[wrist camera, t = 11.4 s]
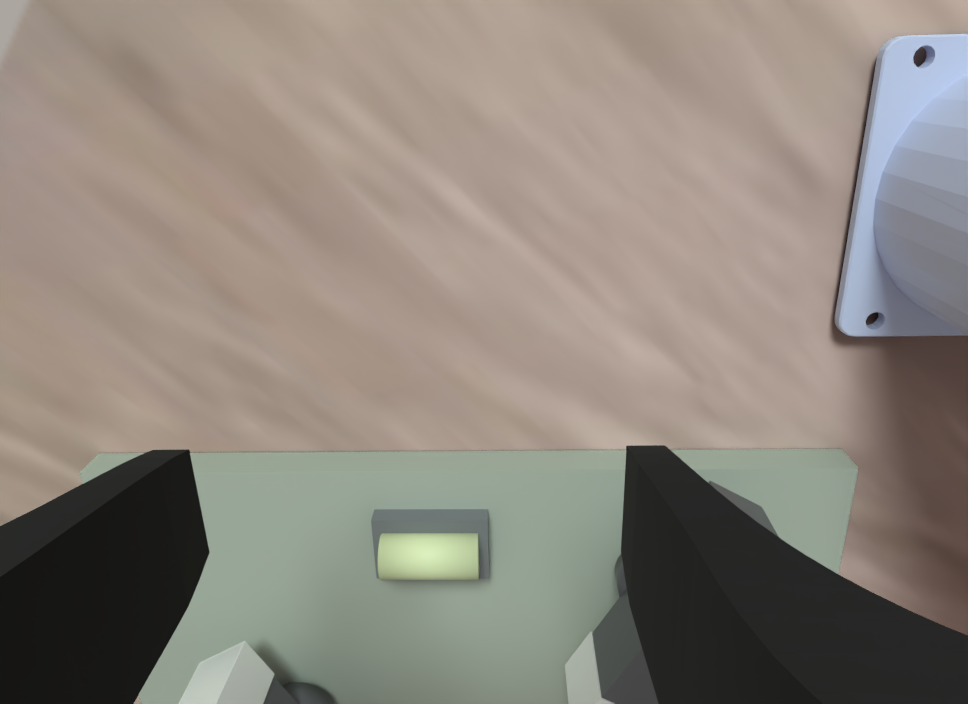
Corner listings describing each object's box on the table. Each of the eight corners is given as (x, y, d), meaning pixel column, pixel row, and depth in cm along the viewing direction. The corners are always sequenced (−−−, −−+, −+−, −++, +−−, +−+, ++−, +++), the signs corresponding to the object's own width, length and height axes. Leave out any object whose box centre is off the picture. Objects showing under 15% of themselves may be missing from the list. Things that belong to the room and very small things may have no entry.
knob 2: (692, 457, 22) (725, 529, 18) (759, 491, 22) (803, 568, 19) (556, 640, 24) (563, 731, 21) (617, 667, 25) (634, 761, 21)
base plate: (841, 448, 23) (884, 498, 20) (784, 765, 28) (813, 837, 26) (99, 453, 24) (49, 501, 21) (176, 759, 29) (144, 828, 27)
